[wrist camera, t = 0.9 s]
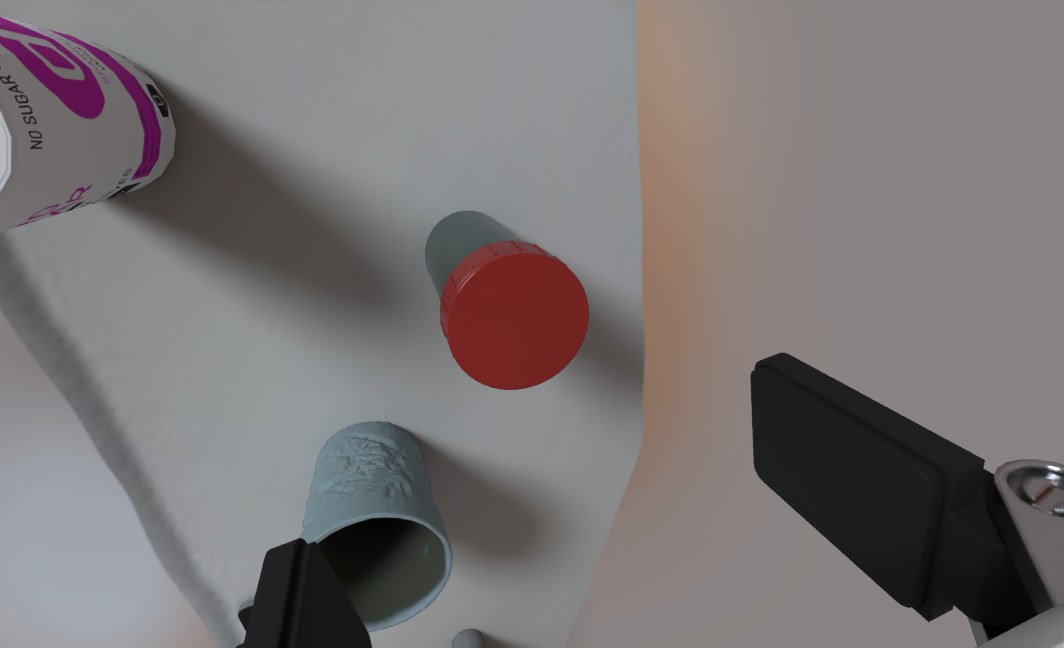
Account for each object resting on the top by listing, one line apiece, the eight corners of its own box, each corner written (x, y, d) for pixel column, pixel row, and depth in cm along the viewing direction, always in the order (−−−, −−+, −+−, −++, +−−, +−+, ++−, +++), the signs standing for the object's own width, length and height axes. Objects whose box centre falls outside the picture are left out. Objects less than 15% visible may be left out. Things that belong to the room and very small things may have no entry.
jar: (408, 238, 37) (429, 301, 24) (485, 194, 37) (546, 234, 24) (452, 309, 40) (491, 399, 27) (523, 268, 40) (595, 337, 28)
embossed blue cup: (312, 411, 39) (292, 519, 29) (440, 413, 43) (464, 510, 32) (306, 514, 43) (286, 645, 32) (425, 508, 46) (442, 624, 36)
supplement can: (68, 4, 27) (-223, -107, 14) (210, 127, 31) (91, 133, 17) (-31, 111, 27) (-408, 104, 14) (121, 219, 31) (-62, 294, 18)
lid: (411, 285, 26) (416, 303, 23) (538, 213, 26) (556, 223, 24) (479, 390, 29) (490, 415, 27) (590, 324, 30) (610, 343, 27)
